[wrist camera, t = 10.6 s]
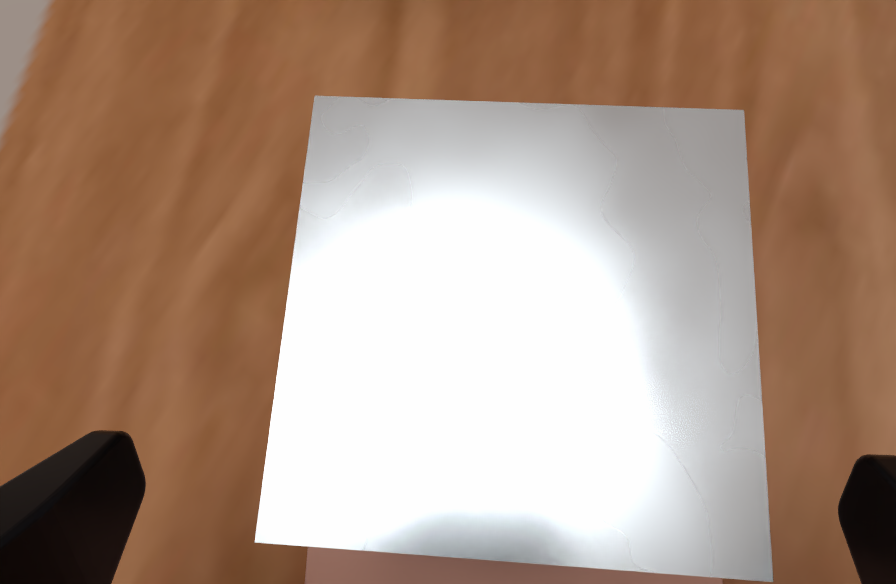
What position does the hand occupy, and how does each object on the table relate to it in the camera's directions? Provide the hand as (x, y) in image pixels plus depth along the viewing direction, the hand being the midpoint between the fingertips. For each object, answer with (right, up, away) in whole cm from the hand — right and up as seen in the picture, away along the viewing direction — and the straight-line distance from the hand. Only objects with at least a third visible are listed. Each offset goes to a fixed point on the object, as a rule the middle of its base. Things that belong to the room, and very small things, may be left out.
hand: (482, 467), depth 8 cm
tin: (+1, -1, +10) cm, 10 cm away
